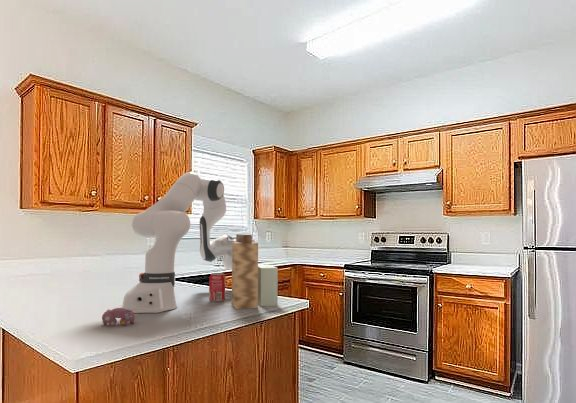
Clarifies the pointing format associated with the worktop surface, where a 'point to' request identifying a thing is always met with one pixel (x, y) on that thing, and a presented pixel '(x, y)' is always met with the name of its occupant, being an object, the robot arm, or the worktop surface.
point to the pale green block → (267, 285)
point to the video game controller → (118, 316)
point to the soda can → (217, 287)
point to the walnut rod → (243, 238)
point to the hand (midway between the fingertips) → (236, 238)
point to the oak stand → (245, 275)
